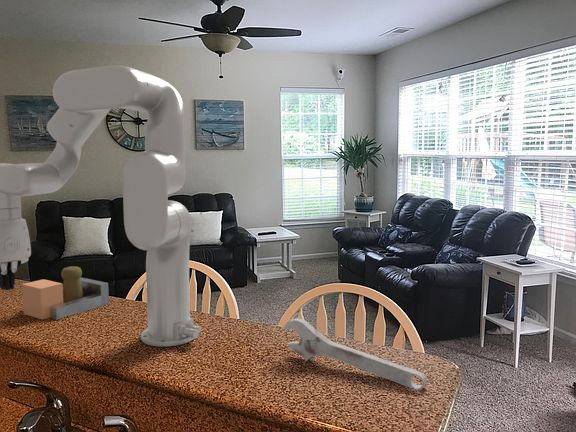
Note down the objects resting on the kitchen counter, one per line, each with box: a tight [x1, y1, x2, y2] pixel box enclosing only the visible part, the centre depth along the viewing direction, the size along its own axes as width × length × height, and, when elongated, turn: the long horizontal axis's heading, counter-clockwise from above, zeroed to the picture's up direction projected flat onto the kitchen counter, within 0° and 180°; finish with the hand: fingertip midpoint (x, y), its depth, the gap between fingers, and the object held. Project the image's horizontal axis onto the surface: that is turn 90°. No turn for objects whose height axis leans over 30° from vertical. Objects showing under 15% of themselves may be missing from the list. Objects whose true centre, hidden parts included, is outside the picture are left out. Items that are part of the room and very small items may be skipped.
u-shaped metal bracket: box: [50, 276, 110, 321], centre depth 131 cm, size 14×16×6 cm
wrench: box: [283, 317, 427, 391], centre depth 93 cm, size 8×2×30 cm
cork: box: [60, 265, 84, 303], centre depth 132 cm, size 6×6×11 cm
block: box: [21, 279, 63, 320], centre depth 125 cm, size 8×6×8 cm
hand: (7, 288), depth 117 cm, fingers closed
